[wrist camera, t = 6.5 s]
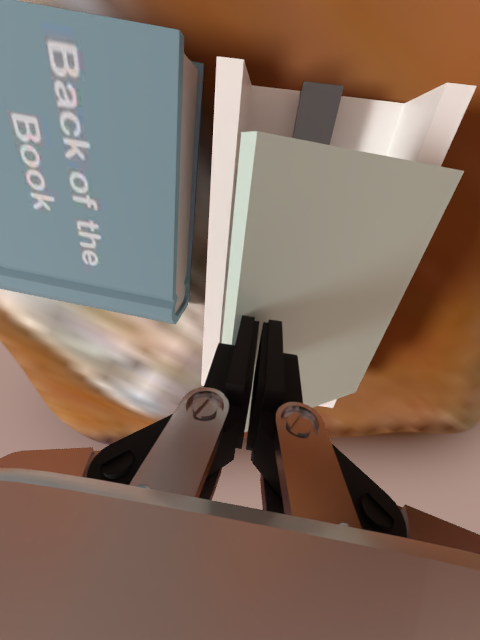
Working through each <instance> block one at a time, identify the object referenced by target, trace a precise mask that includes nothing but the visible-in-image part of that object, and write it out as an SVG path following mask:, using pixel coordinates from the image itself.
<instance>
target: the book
mask: <svg viewBox="0 0 480 640" xmlns="http://www.w3.org/2000/svg"><path fill="white" fill-rule="evenodd" d="M203 75H204V64H203V63H198V62H193V61H190V60H189V59H188V58H187V56H186V55H185V54H184V36H183V34H182V33H181V31H180V30H177V29H172V28H166V27H160V26H155V25H149V24H144V23H138V22H133V21H127V20H122V19H116V18H111V17H105V16H100V15H94V14H89V13H83V12H78V11H72V10H67V9H61V8H55V7H50V6H44V5H39V4H33V3H28V2H22V1H17V0H0V289H5V290H10V291H15V292H19V293H24V294H29V295H34V296H39V297H44V298H49V299H54V300H59V301H64V302H69V303H73V304H78V305H83V306H88V307H93V308H98V309H103V310H108V311H113V312H118V313H123V314H127V315H132V316H137V317H142V318H147V319H152V320H157V321H162V322H167V323H172V324H176V323H177V321H178V320H179V318H180V316H181V315H182V313H183V312H184V310H185V309H186V307H187V305H188V301H189V294H190V278H191V263H192V247H193V231H194V216H195V200H196V185H197V169H198V153H199V138H200V122H201V107H202V91H203Z"/></svg>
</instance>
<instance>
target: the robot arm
mask: <svg viewBox="0 0 480 640" xmlns="http://www.w3.org/2000/svg"><path fill="white" fill-rule="evenodd" d="M254 320H255V317H250V316H243V315H242V318H241V322H240V326H239V330H238V335H237V339H236V343H235V345H230V344H223V343H218V346H217V349H216V352H215V355H214V358H213V361H212V364H211V367H210V370H209V373H208V375H207V378H206V381H205V384H204V387H203V388H197V389H194V390H192V391H190V392H189V393H187V394H186V396H185V397H184V398H183V399H182V401H181V402H180V404H179V406H178V407H177V409H176V410H175V412H174V414H172V415H170V416H168V417H166V418H164V419H162V420H160V421H158V422H155V423H153V424H151V425H149V426H147V427H145V428H143V429H141V430H139V431H137V432H135V433H133V434H131V435H129V436H127V437H125V438H123V439H121V440H119V441H117V442H114V443H112V444H110V445H109V446H107V447H106V448H104V449H103V450H101V451H94V450H93V448H71V449H50V450H30V451H20V452H14V453H11V454H9V455H6V456H4V457H2V458H0V640H480V535H478V534H476V533H474V532H471V531H469V530H466V529H464V528H462V527H459V526H457V525H454V524H452V523H449V522H447V521H444V520H442V519H440V518H437V517H435V516H432V515H429V514H427V513H425V512H422V511H420V510H418V509H415V508H413V507H410V506H407V505H404V507H403V508H402V507H400V506H397V505H396V503H395V502H394V501H393V500H392V499H391V498H390V497H389V496H388V495H387V494H386V493H385V492H384V491H383V490H382V489H381V488H380V487H379V486H378V485H377V484H375V483H374V482H373V481H372V480H371V479H370V478H369V477H368V476H367V475H366V474H364V473H363V472H362V471H361V470H360V469H359V468H358V467H357V466H356V465H355V464H353V463H352V462H351V461H350V460H349V459H348V458H347V457H346V456H345V455H344V454H342V453H341V452H340V451H339V450H338V449H337V448H336V447H335V446H334V445H333V444H332V443H331V441H330V438H329V435H328V432H327V430H326V427H325V424H324V421H323V420H322V418H321V416H320V415H319V414H318V413H317V411H316V410H314V409H313V408H311V407H310V406H308V405H306V404H303V398H302V389H301V380H300V371H299V363H298V356H297V355H294V354H288V353H283V330H282V321H277V320H270V319H269V321H268V323H267V322H263V326H262V332H261V338H260V344H259V350H258V355H257V361H256V367H255V373H254V366H255V357H256V348H257V339H258V331H259V322H260V321H254ZM253 375H254V381H253ZM252 383H253V390H252ZM251 390H252V399H251V408H250V417H249V426H248V436H247V446H246V450H251V451H252V453H251V461H253V464H254V465H255V466H256V468H257V469H258V470H259V472H260V473H261V474H260V484H261V495H262V505H263V510H259V509H254V508H248V507H243V506H238V505H233V504H227V503H221V502H217V501H212V498H213V495H214V492H215V490H216V487H217V484H218V481H219V477H220V474H221V471H222V467H224V466H225V465H226V464H228V463H229V462H231V461H232V460H233V459H234V454H235V448H240V449H241V448H242V443H243V437H244V431H245V426H246V420H247V414H248V408H249V402H250V396H251Z"/></svg>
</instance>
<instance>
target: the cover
mask: <svg viewBox="0 0 480 640" xmlns="http://www.w3.org/2000/svg"><path fill="white" fill-rule="evenodd" d="M463 173H464V171H461V170H456V169H451V168H446V167H441V166H435V165H430V164H425V163H420V162H415V161H410V160H404V159H399V158H394V157H389V156H384V155H378V154H373V153H368V152H363V151H358V150H352V149H347V148H342V147H337V146H332V145H326V144H321V143H316V142H311V141H306V140H301V139H295V138H290V137H285V136H280V135H275V134H269V133H264V132H259V131H252V132H241V141H240V151H239V162H238V173H237V184H236V194H235V205H234V216H233V226H232V237H231V248H230V258H229V269H228V280H227V291H226V301H225V312H224V323H223V333H222V343H223V344H230V345H235V343H236V339H237V335H238V330H239V326H240V322H241V318H242V315H243V316H250V317H255V320H254V321H260V322H259V331H258V339H257V348H256V357H255V366H254V373H255V367H256V361H257V355H258V350H259V344H260V338H261V332H262V326H263V322H267V323H268V321H269V319H270V320H277V321H282V330H283V353H288V354H294V355H297V356H298V363H299V371H300V380H301V389H302V398H303V404H306V405H308V406H310V407H311V408H313V407H316V406H318V405H321V404H324V403H327V402H329V401H332V400H335V399H338V398H340V397H343V396H346V395H349V394H351V393H354V392H356V390H357V388H358V386H359V384H360V382H361V380H362V378H363V376H364V374H365V372H366V370H367V368H368V366H369V364H370V362H371V360H372V358H373V356H374V354H375V352H376V350H377V348H378V346H379V344H380V342H381V339H382V337H383V335H384V333H385V331H386V329H387V327H388V325H389V323H390V321H391V319H392V317H393V315H394V313H395V311H396V309H397V307H398V305H399V303H400V301H401V299H402V297H403V295H404V293H405V291H406V289H407V287H408V285H409V283H410V281H411V279H412V276H413V274H414V272H415V270H416V268H417V266H418V264H419V262H420V260H421V258H422V256H423V254H424V252H425V250H426V248H427V246H428V244H429V242H430V240H431V238H432V236H433V234H434V232H435V230H436V228H437V226H438V224H439V222H440V220H441V218H442V216H443V213H444V211H445V209H446V207H447V205H448V203H449V201H450V199H451V197H452V195H453V193H454V191H455V189H456V187H457V185H458V183H459V181H460V179H461V177H462V175H463ZM253 381H254V375H253ZM252 390H253V383H252ZM252 390H251V396H250V402H249V408H248V414H247V420H246V426H245V431H244V432H247V431H248V426H249V417H250V408H251V399H252Z"/></svg>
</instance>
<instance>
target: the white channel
mask: <svg viewBox="0 0 480 640" xmlns="http://www.w3.org/2000/svg"><path fill="white" fill-rule="evenodd" d="M343 88H344V86H340V85H332V84H323V83H315V82H306V81H304V82H303V85H302V89H301V91H295V90H287V89H279V88H270V87H262V86H253V85H252V84H251V81H250V78H249V75H248V71H247V68H246V65H245V61H244V59H235V58H227V57H218V56H217V60H216V81H215V103H214V124H213V145H212V166H211V188H210V209H209V230H208V251H207V273H206V294H205V315H204V336H203V358H202V379H201V385H203V386H204V384H205V381H206V378H207V375H208V373H209V370H210V367H211V364H212V361H213V358H214V355H215V352H216V349H217V346H218V343H222V333H223V323H224V312H225V301H226V291H227V280H228V269H229V258H230V248H231V237H232V226H233V216H234V205H235V194H236V184H237V173H238V162H239V151H240V141H241V132H252V131H259V132H264V133H269V134H275V135H280V136H285V137H290V138H295V139H301V140H306V141H311V142H316V143H321V144H326V145H332V146H337V147H342V148H347V149H352V150H358V151H363V152H368V153H373V154H378V155H384V156H389V157H394V158H399V159H404V160H410V161H415V162H420V163H425V164H430V165H435V166H441V165H442V162H443V160H444V158H445V156H446V154H447V151H448V149H449V147H450V145H451V142H452V140H453V138H454V136H455V133H456V131H457V129H458V127H459V124H460V122H461V120H462V118H463V115H464V113H465V111H466V109H467V107H468V104H469V102H470V100H471V98H472V95H473V93H474V91H475V89H476V86H472V85H463V84H454V83H445V84H443V85H441V86H439V87H437V88H435V89H433V90H431V91H429V92H427V93H425V94H423V95H421V96H419V97H417V98H415V99H413V100H411V101H409V102H407V103H397V102H388V101H380V100H371V99H363V98H354V97H346V96H342V92H343ZM336 400H337V399H335V400H332V401H329V402H327V403H324V404H321V405H318V406H324V407H330V408H333V406H334V404H335V402H336Z"/></svg>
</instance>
